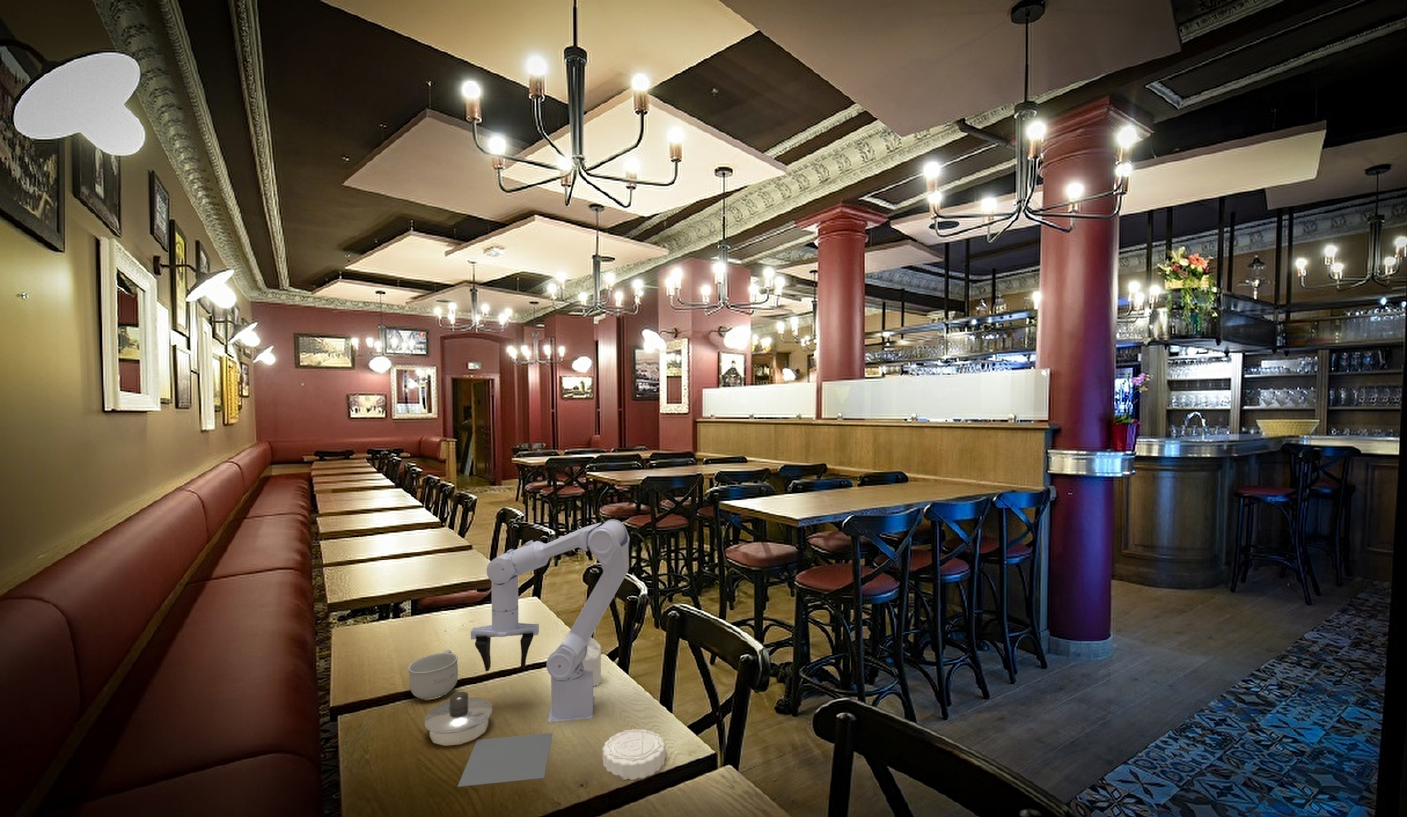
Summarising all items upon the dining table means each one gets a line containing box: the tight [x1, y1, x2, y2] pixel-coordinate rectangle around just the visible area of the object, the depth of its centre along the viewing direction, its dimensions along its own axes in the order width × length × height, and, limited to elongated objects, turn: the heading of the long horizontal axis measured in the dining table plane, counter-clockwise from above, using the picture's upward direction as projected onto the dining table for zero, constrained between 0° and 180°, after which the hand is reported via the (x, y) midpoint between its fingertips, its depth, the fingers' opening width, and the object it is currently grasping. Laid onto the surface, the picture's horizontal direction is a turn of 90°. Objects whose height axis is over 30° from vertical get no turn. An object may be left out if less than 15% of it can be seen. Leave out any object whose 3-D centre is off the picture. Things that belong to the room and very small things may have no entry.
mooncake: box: [602, 728, 666, 781], centre depth 112 cm, size 12×12×4 cm
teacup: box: [407, 649, 459, 700], centre depth 141 cm, size 14×11×8 cm
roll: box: [582, 636, 602, 687], centre depth 145 cm, size 6×12×6 cm
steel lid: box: [424, 691, 493, 734], centre depth 122 cm, size 13×13×4 cm
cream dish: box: [429, 718, 489, 747], centre depth 123 cm, size 11×11×4 cm
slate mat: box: [457, 732, 554, 788], centre depth 113 cm, size 15×15×1 cm
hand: (505, 668), depth 132 cm, fingers open, 7 cm apart
